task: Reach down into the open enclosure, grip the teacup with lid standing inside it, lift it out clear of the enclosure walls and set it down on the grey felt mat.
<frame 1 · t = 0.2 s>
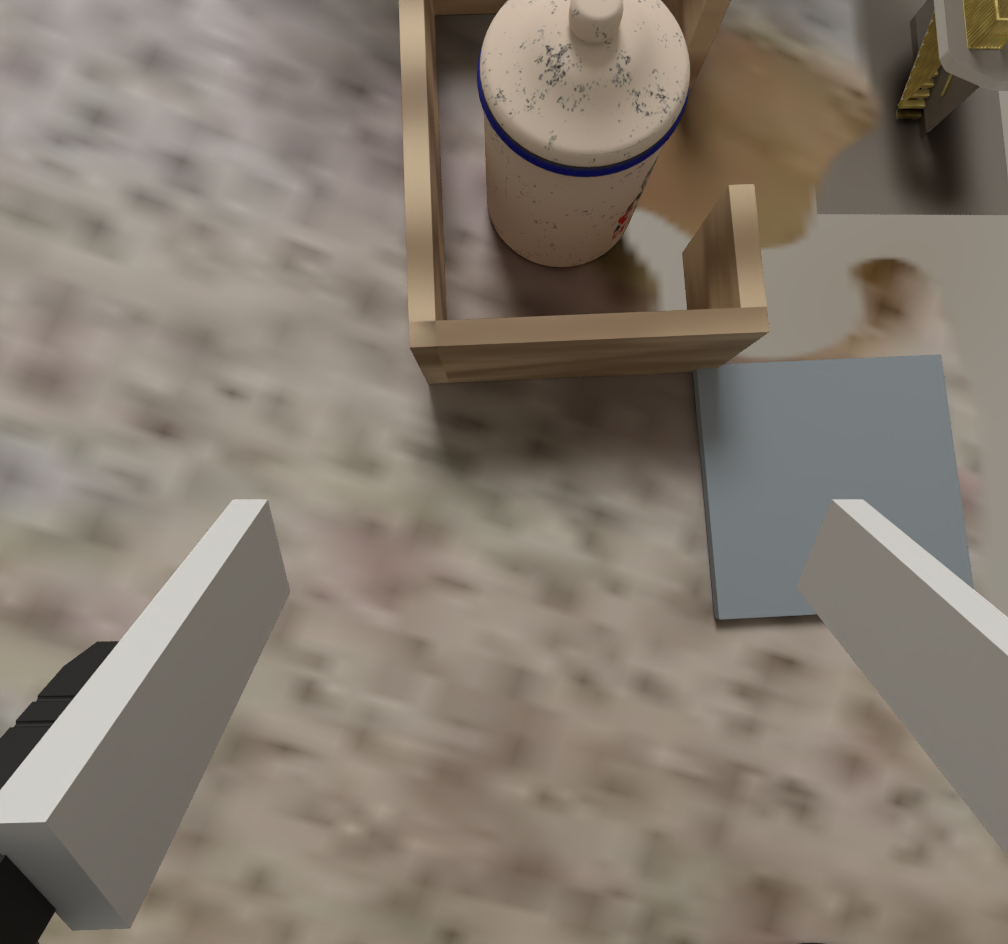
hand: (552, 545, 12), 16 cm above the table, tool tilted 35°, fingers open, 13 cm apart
teacup with lid: (558, 180, 30), resting in open enclosure
mat: (826, 484, 28), on the table
platform: (900, 81, 32), on the table
open enclosure: (558, 178, 30), on the table
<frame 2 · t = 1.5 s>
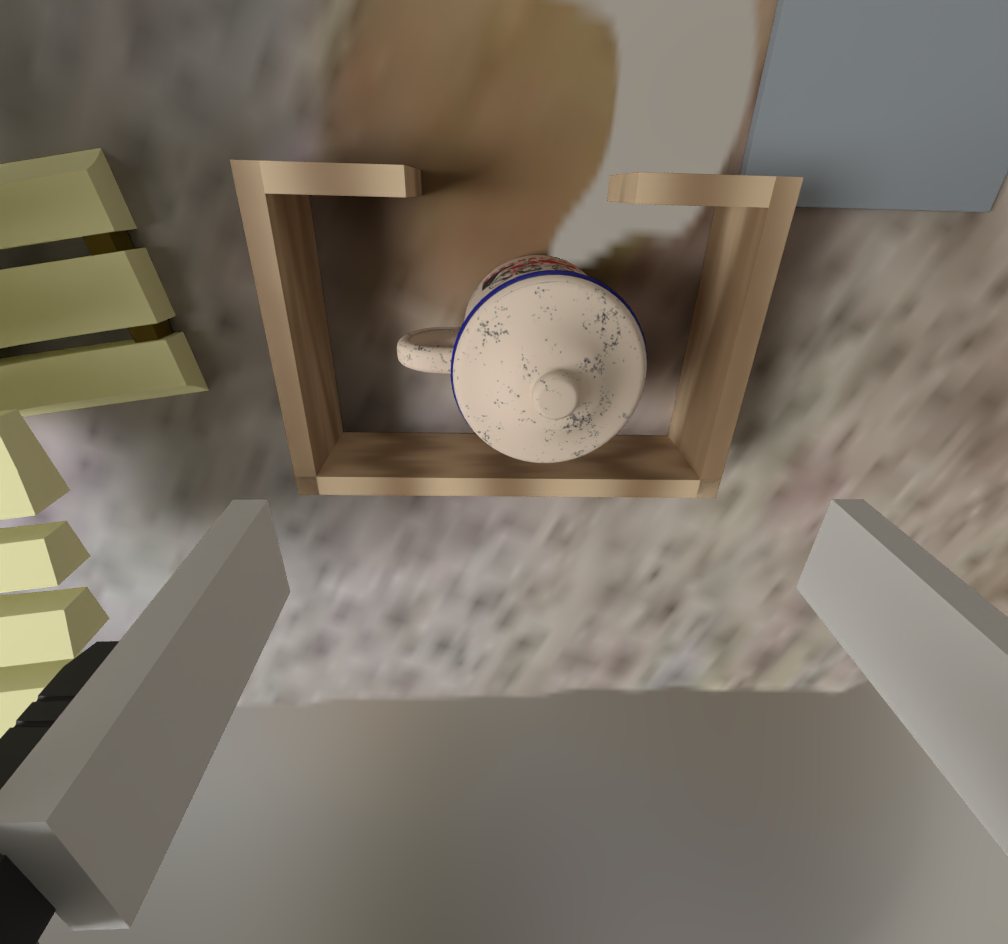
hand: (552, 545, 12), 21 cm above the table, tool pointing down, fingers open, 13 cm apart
teacup with lid: (510, 328, 31), resting in open enclosure
slatted curved stool: (31, 301, 29), on the table
mat: (911, 45, 24), on the table
open enclosure: (510, 329, 31), on the table
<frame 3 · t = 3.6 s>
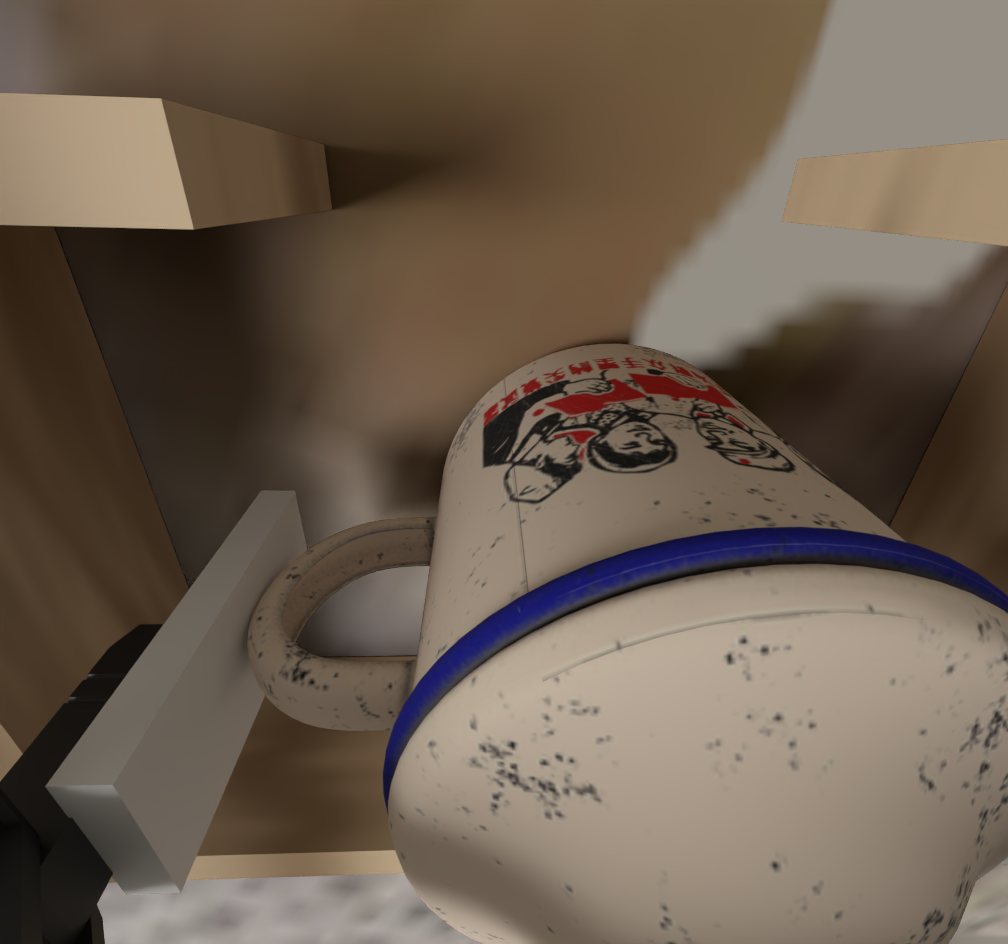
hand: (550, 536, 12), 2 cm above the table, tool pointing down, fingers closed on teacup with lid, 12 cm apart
teacup with lid: (541, 482, 15), resting in open enclosure, touching gripper
open enclosure: (542, 487, 15), on the table
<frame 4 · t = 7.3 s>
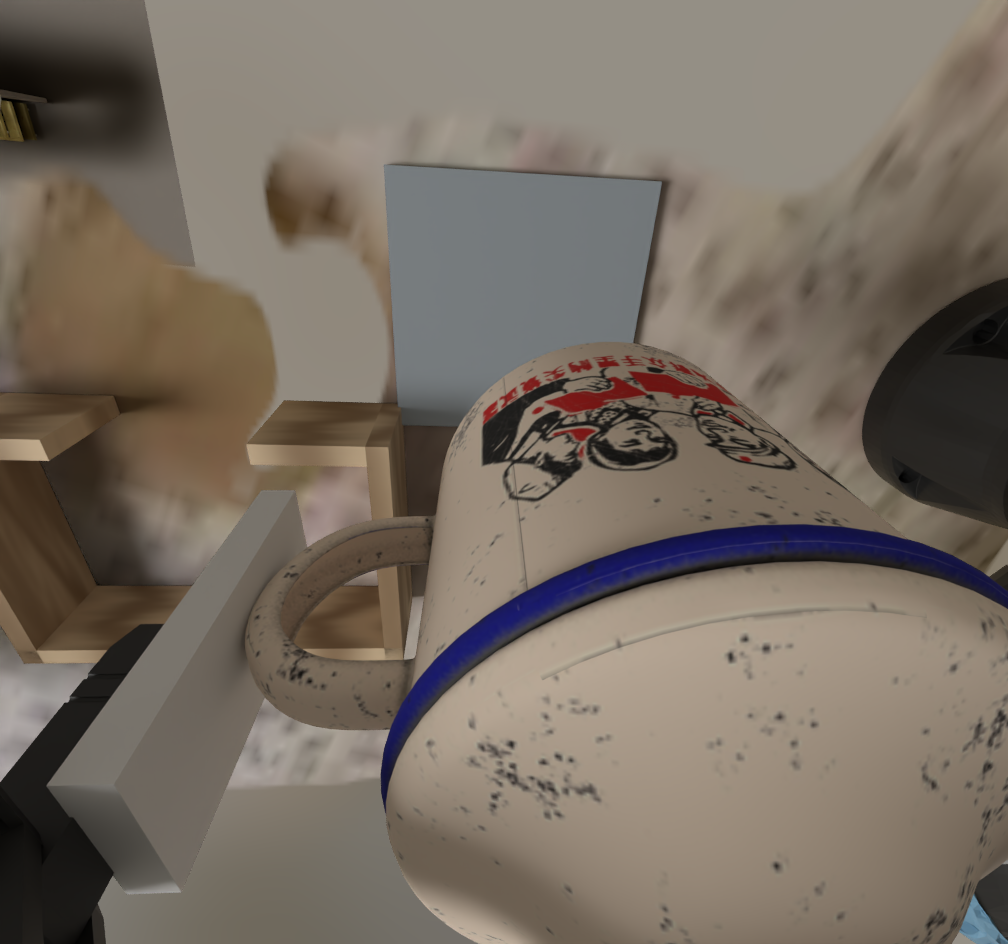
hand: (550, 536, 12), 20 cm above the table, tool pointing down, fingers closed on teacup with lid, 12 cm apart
teacup with lid: (540, 481, 15), point 17 cm above the table, touching gripper
mat: (516, 313, 29), on the table
open enclosure: (229, 509, 35), on the table
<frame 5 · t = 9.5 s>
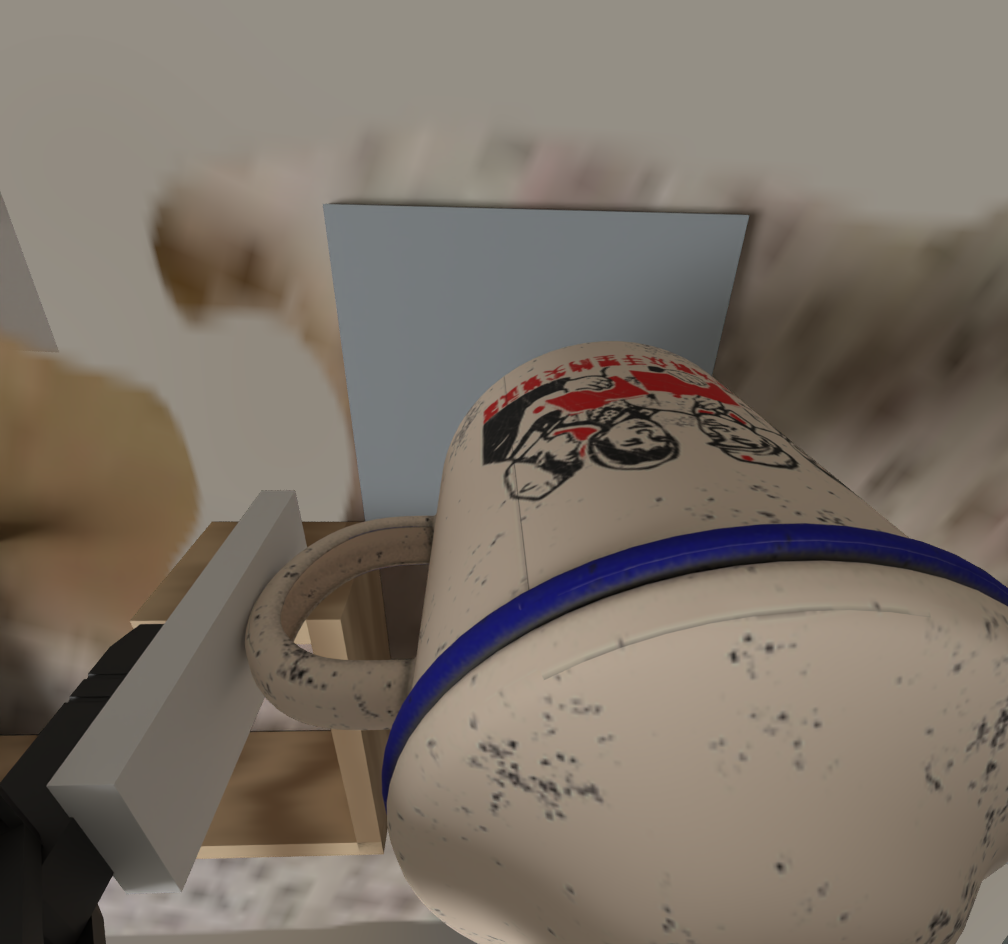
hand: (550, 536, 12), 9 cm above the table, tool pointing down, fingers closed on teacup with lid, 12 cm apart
teacup with lid: (541, 480, 15), point 6 cm above the table, touching gripper
mat: (528, 403, 20), on the table
open enclosure: (155, 650, 26), on the table
when the fingers open (4 cm above the table, at t = 11.3 s): teacup with lid stays where it is, resting on mat.
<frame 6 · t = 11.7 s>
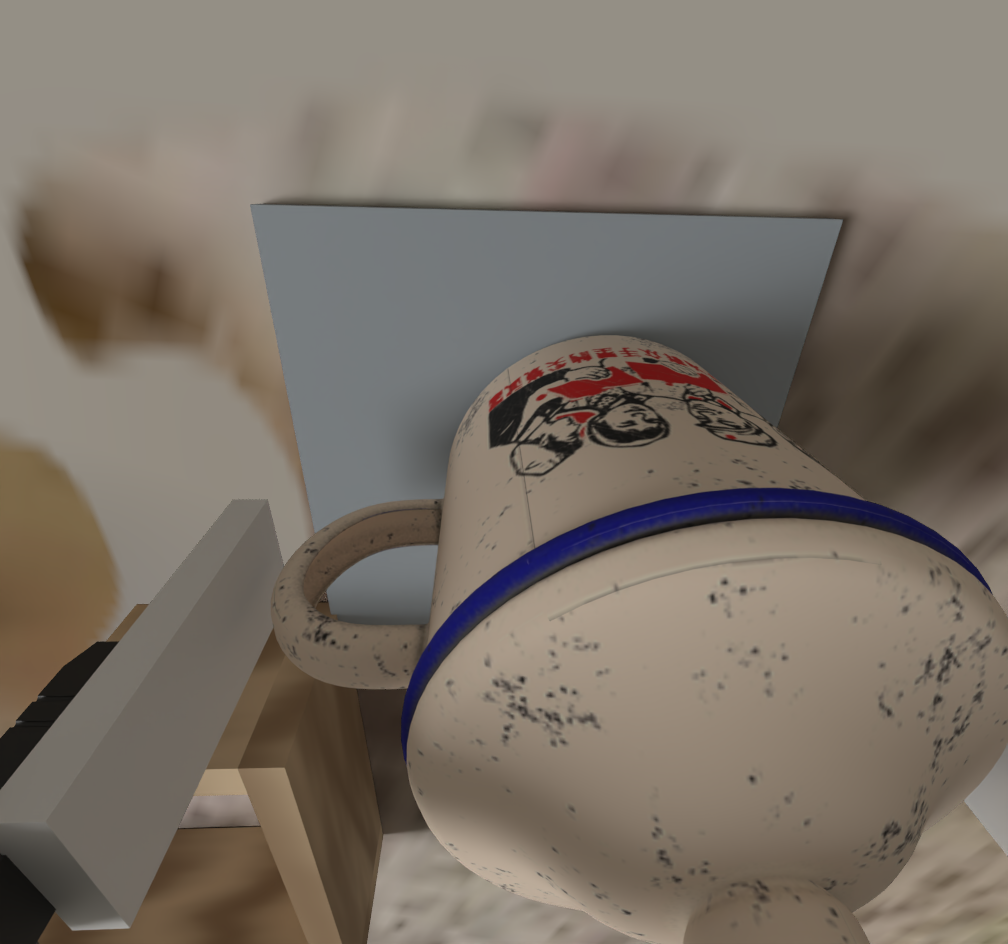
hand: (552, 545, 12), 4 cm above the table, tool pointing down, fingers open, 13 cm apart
teacup with lid: (542, 468, 15), resting on mat
mat: (535, 462, 16), on the table
open enclosure: (80, 746, 22), on the table
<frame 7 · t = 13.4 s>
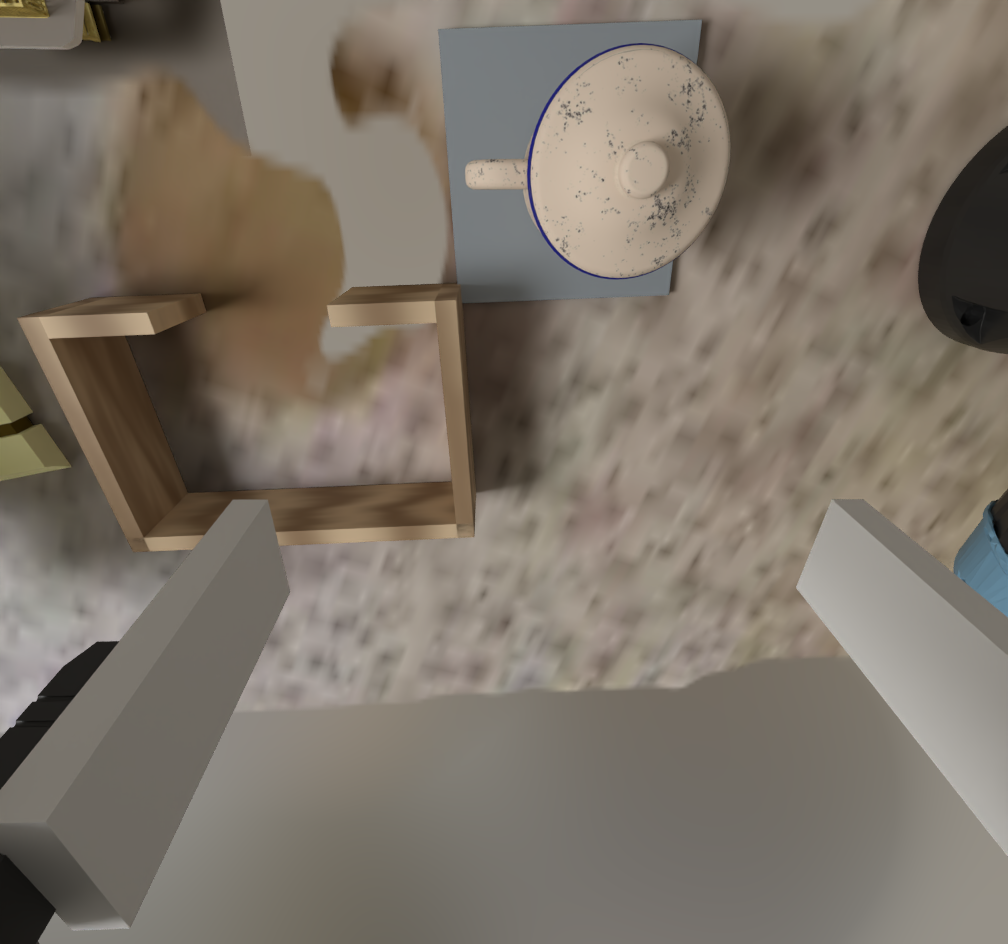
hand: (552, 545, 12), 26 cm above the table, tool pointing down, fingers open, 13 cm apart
teacup with lid: (569, 177, 30), resting on mat
mat: (565, 177, 31), on the table
platform: (56, 23, 27), on the table
open enclosure: (304, 406, 37), on the table
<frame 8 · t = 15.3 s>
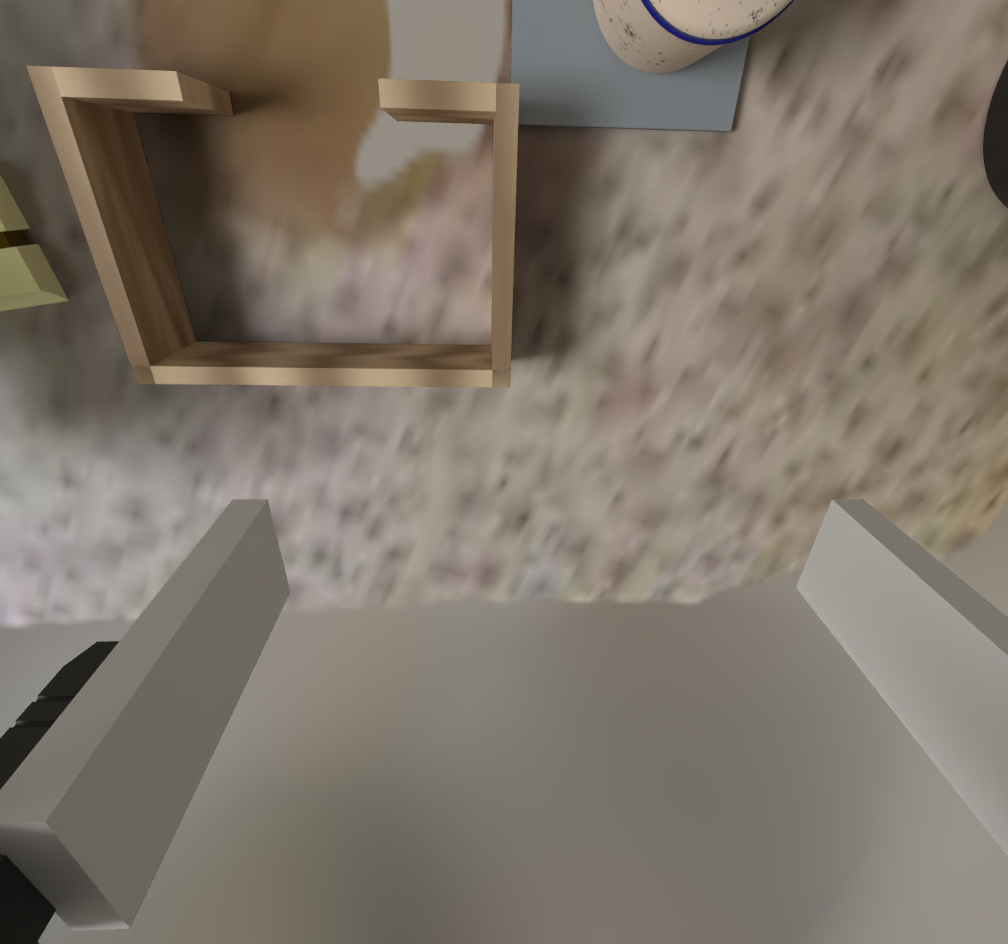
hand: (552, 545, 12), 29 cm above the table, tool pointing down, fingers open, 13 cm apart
open enclosure: (332, 242, 35), on the table
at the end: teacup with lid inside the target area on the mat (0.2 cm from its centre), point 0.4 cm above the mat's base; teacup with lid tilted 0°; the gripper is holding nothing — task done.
